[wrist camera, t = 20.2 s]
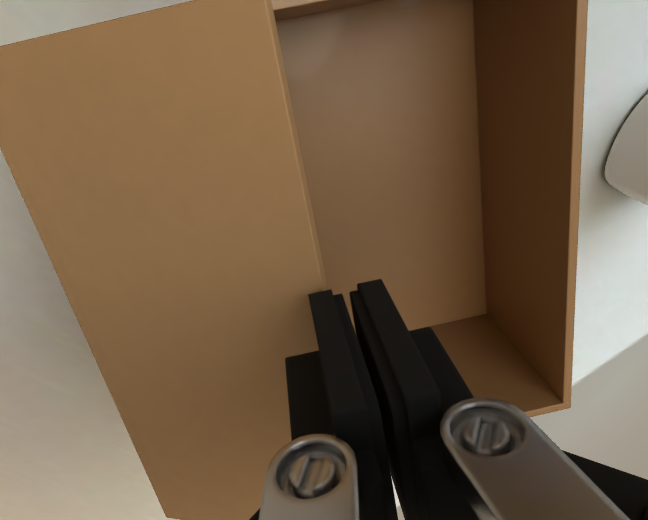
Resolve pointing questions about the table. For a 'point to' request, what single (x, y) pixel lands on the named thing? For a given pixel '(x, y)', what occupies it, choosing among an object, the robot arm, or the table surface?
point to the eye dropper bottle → (631, 155)
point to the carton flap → (175, 230)
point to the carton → (450, 172)
